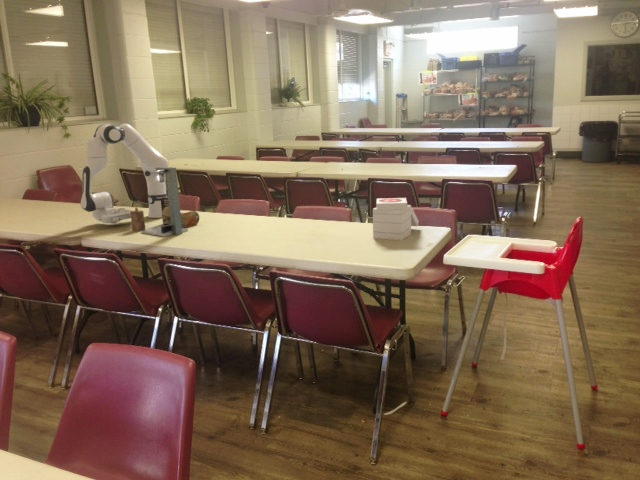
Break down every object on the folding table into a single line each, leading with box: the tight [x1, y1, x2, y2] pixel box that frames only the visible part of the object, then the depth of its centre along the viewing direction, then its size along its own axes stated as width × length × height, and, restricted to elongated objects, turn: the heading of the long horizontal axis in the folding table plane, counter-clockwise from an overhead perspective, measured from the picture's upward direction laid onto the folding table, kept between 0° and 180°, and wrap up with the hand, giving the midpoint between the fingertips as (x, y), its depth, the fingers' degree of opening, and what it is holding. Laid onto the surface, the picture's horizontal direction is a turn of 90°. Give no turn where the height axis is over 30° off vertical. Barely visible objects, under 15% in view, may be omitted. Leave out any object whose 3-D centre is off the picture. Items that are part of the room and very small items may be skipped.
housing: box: [130, 206, 146, 232], centre depth 325 cm, size 5×5×13 cm
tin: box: [181, 210, 200, 228], centre depth 331 cm, size 15×3×8 cm, turn 143°
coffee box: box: [161, 196, 171, 225], centre depth 339 cm, size 9×6×16 cm
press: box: [140, 166, 189, 238], centre depth 311 cm, size 22×22×36 cm
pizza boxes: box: [372, 197, 420, 241], centre depth 293 cm, size 19×30×18 cm, turn 153°
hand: (126, 218), depth 331 cm, fingers open, 8 cm apart
